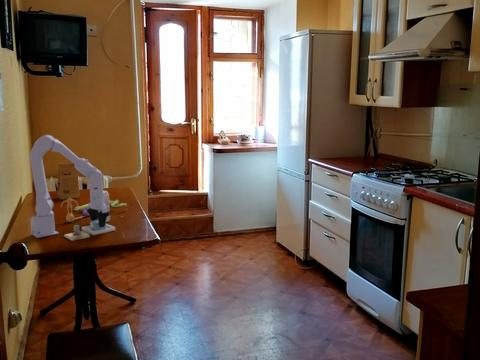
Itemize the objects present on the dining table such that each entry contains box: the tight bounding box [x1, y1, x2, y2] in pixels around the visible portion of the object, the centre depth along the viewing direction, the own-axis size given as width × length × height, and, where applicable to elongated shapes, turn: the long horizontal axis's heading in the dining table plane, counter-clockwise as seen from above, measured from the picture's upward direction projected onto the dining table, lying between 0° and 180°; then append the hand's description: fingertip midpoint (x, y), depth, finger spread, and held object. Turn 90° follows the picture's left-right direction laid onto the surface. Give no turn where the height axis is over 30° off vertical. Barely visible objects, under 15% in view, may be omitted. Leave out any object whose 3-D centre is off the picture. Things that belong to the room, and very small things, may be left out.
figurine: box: [60, 197, 79, 223], centre depth 225 cm, size 8×6×12 cm
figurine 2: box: [74, 199, 128, 216], centre depth 248 cm, size 18×27×6 cm
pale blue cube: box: [89, 220, 107, 231], centre depth 209 cm, size 5×6×4 cm
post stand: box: [63, 224, 91, 242], centre depth 200 cm, size 8×8×5 cm
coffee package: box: [56, 162, 80, 201], centre depth 280 cm, size 10×12×22 cm
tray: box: [81, 223, 116, 236], centre depth 210 cm, size 11×11×2 cm
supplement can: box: [97, 189, 111, 223], centre depth 225 cm, size 8×8×15 cm
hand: (98, 225), depth 210 cm, fingers open, 7 cm apart
